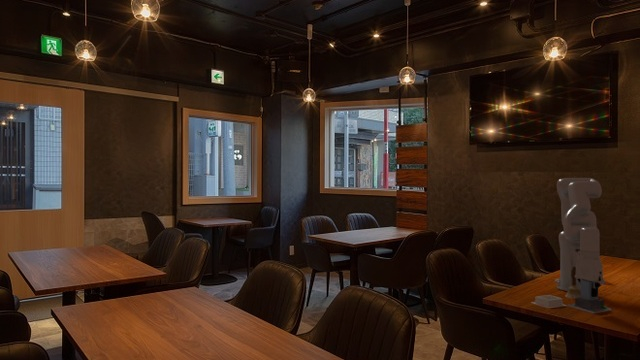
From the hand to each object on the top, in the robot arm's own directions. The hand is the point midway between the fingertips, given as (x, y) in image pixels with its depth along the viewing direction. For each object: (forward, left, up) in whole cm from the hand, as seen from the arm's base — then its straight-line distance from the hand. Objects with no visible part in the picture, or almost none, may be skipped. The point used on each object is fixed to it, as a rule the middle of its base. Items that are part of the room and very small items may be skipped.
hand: (589, 294), depth 193 cm
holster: (-11, -12, -7) cm, 18 cm away
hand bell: (-15, +10, -7) cm, 20 cm away
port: (0, 0, -7) cm, 7 cm away
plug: (0, 0, -4) cm, 4 cm away
